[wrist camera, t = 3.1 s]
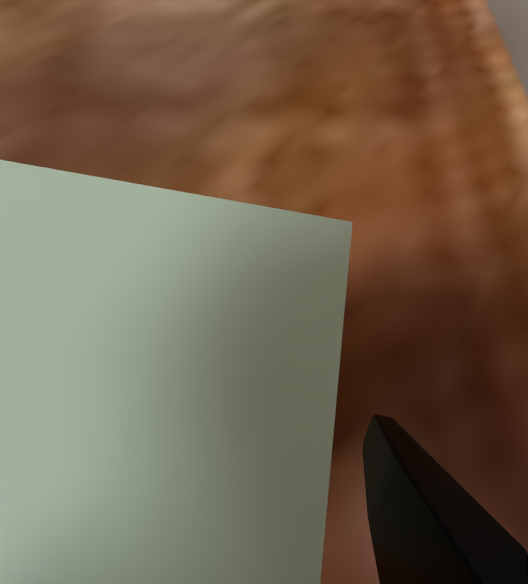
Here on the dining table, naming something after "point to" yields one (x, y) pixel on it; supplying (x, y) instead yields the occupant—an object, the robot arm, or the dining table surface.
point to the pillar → (164, 383)
